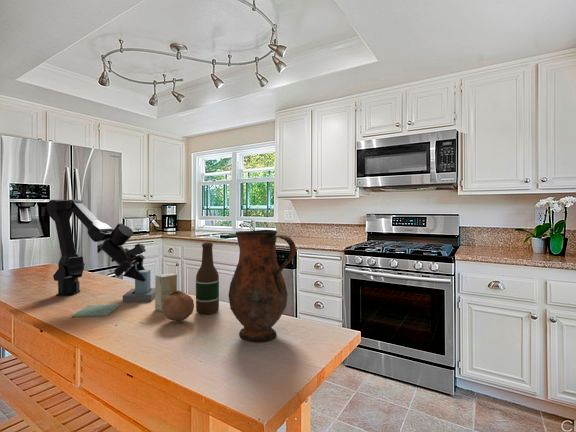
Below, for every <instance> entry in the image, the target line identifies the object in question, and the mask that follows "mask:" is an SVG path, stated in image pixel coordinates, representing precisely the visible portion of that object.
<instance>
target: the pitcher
mask: <svg viewBox="0 0 576 432" xmlns="http://www.w3.org/2000/svg"><path fill="white" fill-rule="evenodd" d="M277 234H278V231H277V230H273V229H257V230H244V231H243V230H242V231H235V235H236V239H237V243H238V244H237V245H238V248H239V256H238V262H237V265H236V268H235V270H234V274H233V276H232V278H231V281H230V283H229V289H228V302H229V307H230V310H231V312H232V314H233V316H235V318H236V320H237V321H239V323H240V325H242V326H243V327H242V328H241V329H240V330H239V332H238V335H239V337H240V338H241V339H243V340H244V341H247V342H250V343H251V342H252V343H266V342H269V341H271V340H274V339H276V338H277V336H278V335H277V331H276V330H275V329H274V328H272V327H274V325H276V323H277V322H278V321H279V320H280V319H281V317H282V316H283V313H284V312H285V310H286V307H287V303H288V291H287V285H286V282H285V279H284V276H283V274H282V271H283V270H284V269H285V267H286V266H288V265H289V264H290V263H291V261H293V259H294V258H295V256H296V252H297V248H296V244H295V242H294V240H293V239H292V238H291V237H290V236H287V235H283V234H282V235H277ZM277 238H278V239H281V240H284V241H285V242H286V243H287V244H288V246H289V255H288V257H287V258H286V259H285V261H284V262H283V263H281V265H279V262H278V259H277V250H276V246H277V245H276V243H277Z"/></svg>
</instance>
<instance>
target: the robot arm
mask: <svg viewBox="0 0 576 432" xmlns="http://www.w3.org/2000/svg"><path fill="white" fill-rule="evenodd" d="M46 210H47V213H48V216H49V218H51V219H52V220H53V221H54V224H55V228H56V229H55V230H56V233H57V239H58V244H59V248H60V249H59V250H60V255H61V257H60V258H59V261H58V264H57V265H58V269H57V270H56V271H55V273H54V274H53V275H52V277H53V281H55V282H57V292H58V293H56V294H55V296H73V295H76V294H77V293H79V292H81V289H80V280H79V278H82V277H83V272H84V271H85V266H86V265H85V262H84V257H83V256H82V255H80V256H79V255H78V253H77V252H76V246H75V242H74V237H73V232H72V231H73V229H72V226H71V221H70V220H71V217H72V215H74V216H75V217H76V218H77V219H78V220H79V221H80V222H81V223H82V224H83V225H84V227H86V229H87V234H88V236H89V238H90V239H91V241H93V242H95V243H98V242H102V243H100V244H98V245H97V246H96V247H97V249H96V251H97V252H96V253H98V254H99V253H101V252H103V253H105V254H106V255H107V256H108V257H110V258H111V259H110V261H111V262H112V263H114V262H115V263H116V264H117V265H118V266H117V267H116V268H115V269H114V270H113V271H114V275H115V276H116V277H117V278H120V277H121V276H122V277H127V278H130V279H133V280H135V279H136V280H139V281H142V282H144V281H145V278H144V277H143V276H142V274H141V273H140V272H139V271H138V270H146V269H145V267H144V260H145V258H146V257H145V256H144V255H143V253H145V252H146V251H147V250H146V249H145V248H146V246H145V245H144V244H143V243H142V244H141V243H137V244H135V245H134V247H133V248H131V249H129V248H128V247H126V248H124V247H123V246H124V245H125V244H126V243H127V242H128V241H129V240H130V238H132V236H133V235H134V231H133V230H132V228H130V227H129V226H127V225H124V223H121V222H120V223H117V224H116V226H115V227H114V228H112V227H111V226H110V225H109V224H107V223H104V222H103V221H100V220H99V219H98V218H97V217H96V216H95V215H94V214H93V213H92V212H91V211H90V210H89V209H88V208H87V206H86V205H84V202H83V200H81V199H50V200H49V201H48V202H47V203H46Z"/></svg>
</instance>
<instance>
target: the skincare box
mask: <svg viewBox="0 0 576 432" xmlns="http://www.w3.org/2000/svg"><path fill="white" fill-rule="evenodd" d="M154 280H155V281H154V282H155V286H154V288H155V298H154V300H155V301H154V303H155V304H154V309H155V310H156V311H159V312H163V310H162V305H163V302H164V300H165V299H166V298H167V297H168V296H169V294H170V293H173V292H174V291H178V285H177V284H178V274H176V273H172V272H169V273H162V274H157V275H155V279H154Z"/></svg>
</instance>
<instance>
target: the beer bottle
mask: <svg viewBox="0 0 576 432" xmlns="http://www.w3.org/2000/svg"><path fill="white" fill-rule="evenodd" d="M213 246H214V245H213V242H203V243H202V244H201V247H202V250H201V251H202V255H201V265H200V267H199V269H198V271H197V273H196V275H195V311H196V313H197V314H199V315H204V316H208V315H214V314H216V313H217V312H218V311H219V310H220V308H219V307H220V277H219V272H218V269H217V267H216V266H215V265H214V258H213V257H214V256H213Z"/></svg>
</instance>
